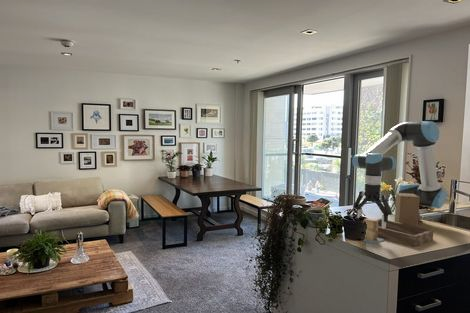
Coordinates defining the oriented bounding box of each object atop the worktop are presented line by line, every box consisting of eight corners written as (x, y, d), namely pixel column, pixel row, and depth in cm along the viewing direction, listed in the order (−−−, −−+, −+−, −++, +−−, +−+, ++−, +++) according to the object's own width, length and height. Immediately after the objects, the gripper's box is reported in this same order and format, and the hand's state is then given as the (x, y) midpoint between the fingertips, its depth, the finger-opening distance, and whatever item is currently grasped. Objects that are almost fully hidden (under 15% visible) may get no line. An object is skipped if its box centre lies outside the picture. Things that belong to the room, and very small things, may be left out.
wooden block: (417, 232, 189) (419, 196, 188) (398, 230, 191) (400, 195, 190) (412, 227, 199) (414, 193, 197) (394, 226, 201) (395, 192, 199)
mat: (366, 235, 181) (366, 234, 181) (384, 240, 173) (384, 239, 173) (355, 238, 175) (355, 237, 175) (373, 244, 167) (373, 243, 167)
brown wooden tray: (380, 226, 198) (380, 218, 198) (432, 240, 175) (433, 230, 175) (361, 231, 187) (361, 223, 187) (414, 246, 164) (415, 236, 163)
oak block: (368, 236, 177) (369, 217, 176) (377, 239, 173) (378, 219, 172) (362, 238, 174) (363, 219, 173) (371, 240, 170) (372, 221, 169)
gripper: (347, 181, 179) (345, 220, 181) (392, 187, 159) (390, 232, 161) (355, 180, 184) (354, 218, 186) (400, 186, 164) (398, 229, 165)
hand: (371, 224), depth 173 cm, fingers open, 13 cm apart
